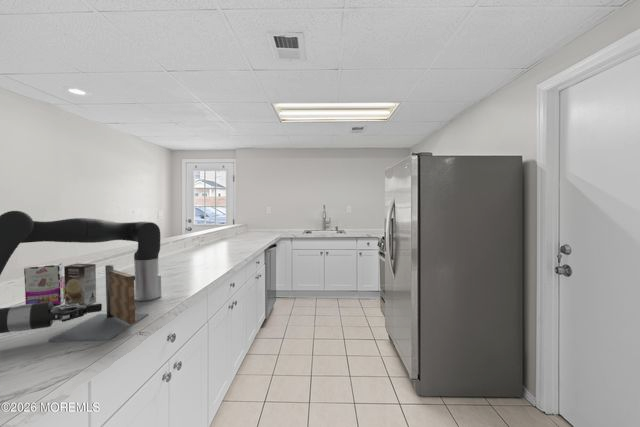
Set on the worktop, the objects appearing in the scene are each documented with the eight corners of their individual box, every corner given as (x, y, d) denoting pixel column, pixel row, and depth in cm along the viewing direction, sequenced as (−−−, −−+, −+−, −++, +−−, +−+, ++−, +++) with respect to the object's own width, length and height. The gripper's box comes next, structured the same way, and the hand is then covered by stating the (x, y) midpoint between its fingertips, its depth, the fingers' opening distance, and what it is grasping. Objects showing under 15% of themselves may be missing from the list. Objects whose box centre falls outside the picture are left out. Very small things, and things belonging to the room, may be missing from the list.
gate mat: (99, 315, 117) (99, 314, 117) (148, 315, 117) (148, 313, 117) (48, 341, 95) (48, 339, 95) (109, 340, 95) (109, 338, 95)
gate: (109, 314, 112) (108, 270, 112) (115, 312, 114) (114, 269, 113) (129, 324, 102) (128, 276, 102) (136, 322, 104) (135, 275, 103)
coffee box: (63, 305, 129) (62, 266, 129) (77, 300, 135) (76, 263, 135) (84, 306, 128) (83, 266, 128) (97, 301, 134) (96, 263, 134)
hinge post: (109, 317, 115) (108, 264, 114) (116, 317, 115) (114, 264, 114) (105, 319, 113) (103, 266, 112) (112, 319, 113) (110, 266, 112)
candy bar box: (64, 301, 135) (62, 262, 134) (60, 304, 130) (59, 264, 130) (29, 305, 130) (28, 265, 129) (25, 309, 125) (23, 267, 125)
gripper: (24, 310, 89) (99, 300, 98) (37, 298, 101) (103, 291, 110) (25, 336, 90) (99, 325, 98) (37, 322, 101) (103, 312, 110)
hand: (101, 307), depth 104 cm, fingers closed
